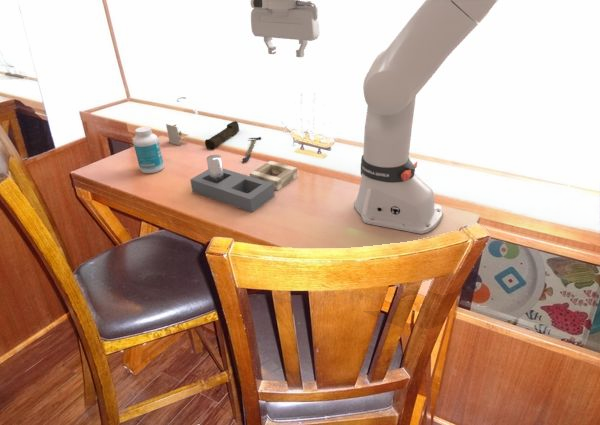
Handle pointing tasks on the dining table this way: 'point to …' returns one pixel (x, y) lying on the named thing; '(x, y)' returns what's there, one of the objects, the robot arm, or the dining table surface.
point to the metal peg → (215, 168)
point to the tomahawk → (250, 148)
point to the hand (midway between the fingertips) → (286, 55)
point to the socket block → (282, 170)
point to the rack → (234, 189)
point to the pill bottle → (148, 150)
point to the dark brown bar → (222, 135)
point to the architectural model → (174, 134)
